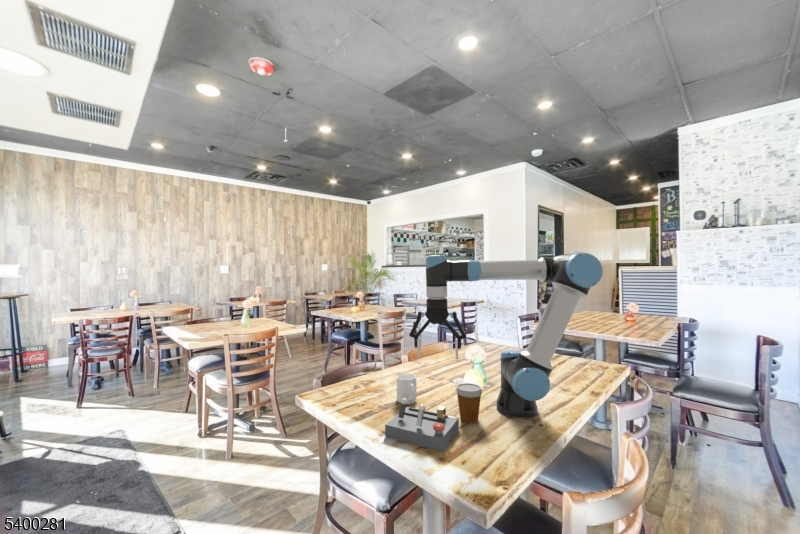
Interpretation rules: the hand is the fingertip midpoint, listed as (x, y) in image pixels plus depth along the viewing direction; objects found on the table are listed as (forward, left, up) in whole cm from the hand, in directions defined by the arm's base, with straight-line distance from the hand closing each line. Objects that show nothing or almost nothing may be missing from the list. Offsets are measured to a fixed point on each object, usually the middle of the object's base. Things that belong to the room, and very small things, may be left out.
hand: (437, 357), depth 120 cm
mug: (+18, -12, -24) cm, 32 cm away
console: (+2, +9, -24) cm, 26 cm away
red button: (-6, +15, -20) cm, 25 cm away
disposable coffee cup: (-9, -8, -24) cm, 27 cm away
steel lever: (+1, +15, -20) cm, 25 cm away
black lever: (+9, +12, -20) cm, 25 cm away
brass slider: (-3, +5, -20) cm, 20 cm away
